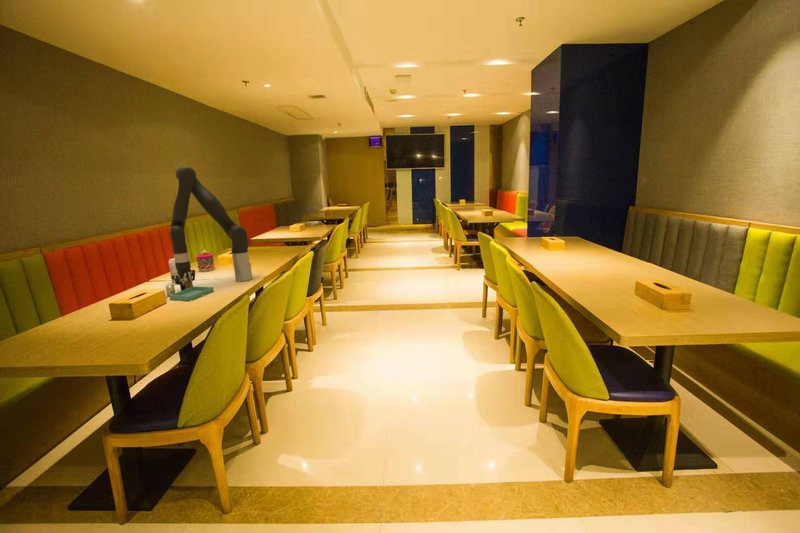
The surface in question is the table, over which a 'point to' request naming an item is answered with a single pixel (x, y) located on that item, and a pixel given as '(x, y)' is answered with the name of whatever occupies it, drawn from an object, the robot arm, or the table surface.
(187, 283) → the walnut block
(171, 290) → the metal peg
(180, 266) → the robot arm
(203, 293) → the tray
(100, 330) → the table surface
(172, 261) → the supplement can
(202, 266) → the cake
